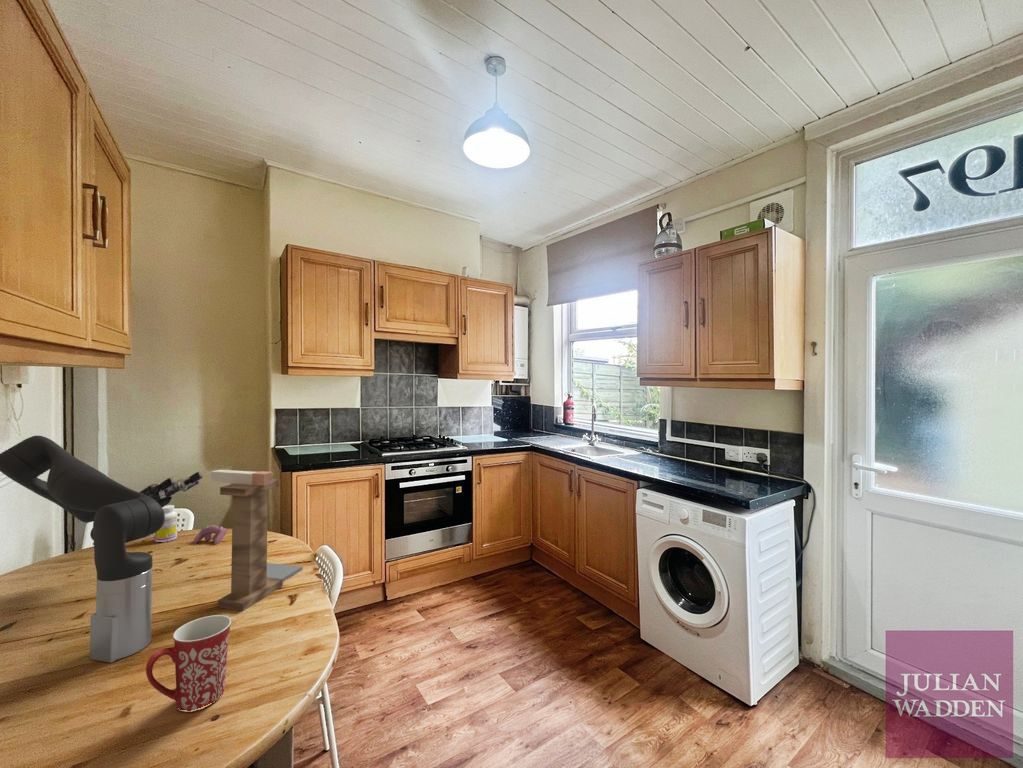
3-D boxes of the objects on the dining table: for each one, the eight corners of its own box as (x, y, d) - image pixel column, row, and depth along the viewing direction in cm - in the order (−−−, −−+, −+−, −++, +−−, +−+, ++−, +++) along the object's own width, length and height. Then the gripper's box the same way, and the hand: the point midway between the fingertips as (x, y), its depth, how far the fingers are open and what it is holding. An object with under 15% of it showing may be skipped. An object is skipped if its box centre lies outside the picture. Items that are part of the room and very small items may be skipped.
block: (264, 485, 114) (264, 474, 114) (210, 482, 118) (210, 471, 118) (273, 483, 118) (273, 471, 118) (220, 479, 121) (220, 468, 121)
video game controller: (224, 545, 158) (230, 526, 161) (215, 544, 154) (222, 524, 157) (200, 544, 159) (207, 525, 162) (191, 543, 155) (198, 523, 158)
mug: (224, 674, 85) (225, 609, 85) (235, 698, 79) (236, 627, 79) (142, 708, 76) (144, 635, 76) (147, 738, 70) (149, 657, 70)
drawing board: (281, 582, 125) (281, 579, 125) (237, 577, 128) (237, 573, 128) (302, 569, 134) (302, 566, 134) (260, 564, 137) (260, 561, 137)
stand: (243, 610, 109) (245, 490, 109) (214, 606, 111) (216, 488, 111) (282, 586, 123) (284, 478, 123) (256, 583, 125) (258, 477, 125)
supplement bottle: (158, 538, 160) (158, 505, 160) (179, 535, 163) (179, 503, 163) (151, 544, 154) (152, 509, 154) (173, 541, 157) (174, 507, 157)
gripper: (116, 496, 118) (156, 470, 115) (167, 485, 132) (204, 462, 129) (126, 520, 117) (167, 495, 114) (176, 506, 131) (213, 483, 128)
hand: (186, 477), depth 122 cm, fingers open, 8 cm apart
